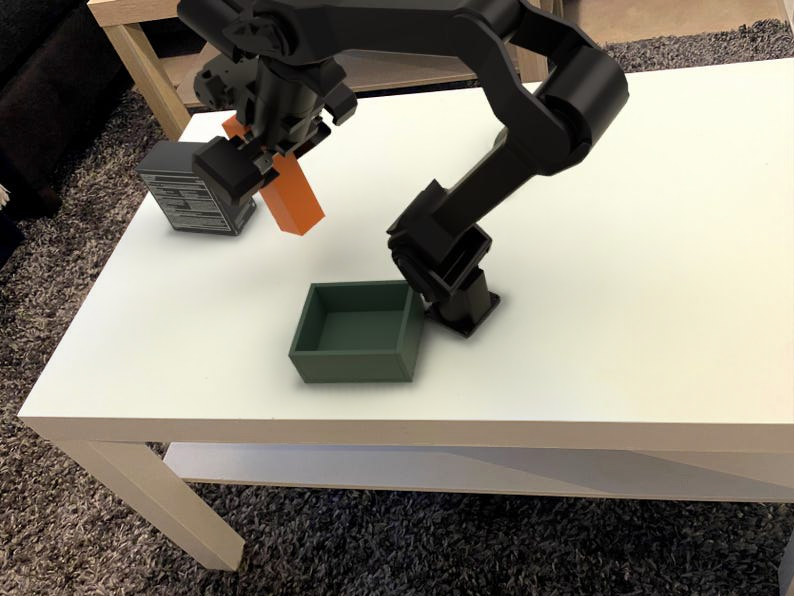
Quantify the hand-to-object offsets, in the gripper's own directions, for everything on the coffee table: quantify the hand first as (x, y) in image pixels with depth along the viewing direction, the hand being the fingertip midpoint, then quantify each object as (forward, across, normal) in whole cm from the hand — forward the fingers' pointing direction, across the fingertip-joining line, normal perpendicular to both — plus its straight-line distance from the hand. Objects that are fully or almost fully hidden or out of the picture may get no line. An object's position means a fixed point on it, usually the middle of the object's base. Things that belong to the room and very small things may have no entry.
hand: (270, 174), depth 83 cm
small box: (+20, 0, -7) cm, 21 cm away
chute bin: (+1, +7, +21) cm, 22 cm away
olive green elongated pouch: (+1, -27, +18) cm, 33 cm away
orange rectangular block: (+4, 0, +6) cm, 7 cm away
